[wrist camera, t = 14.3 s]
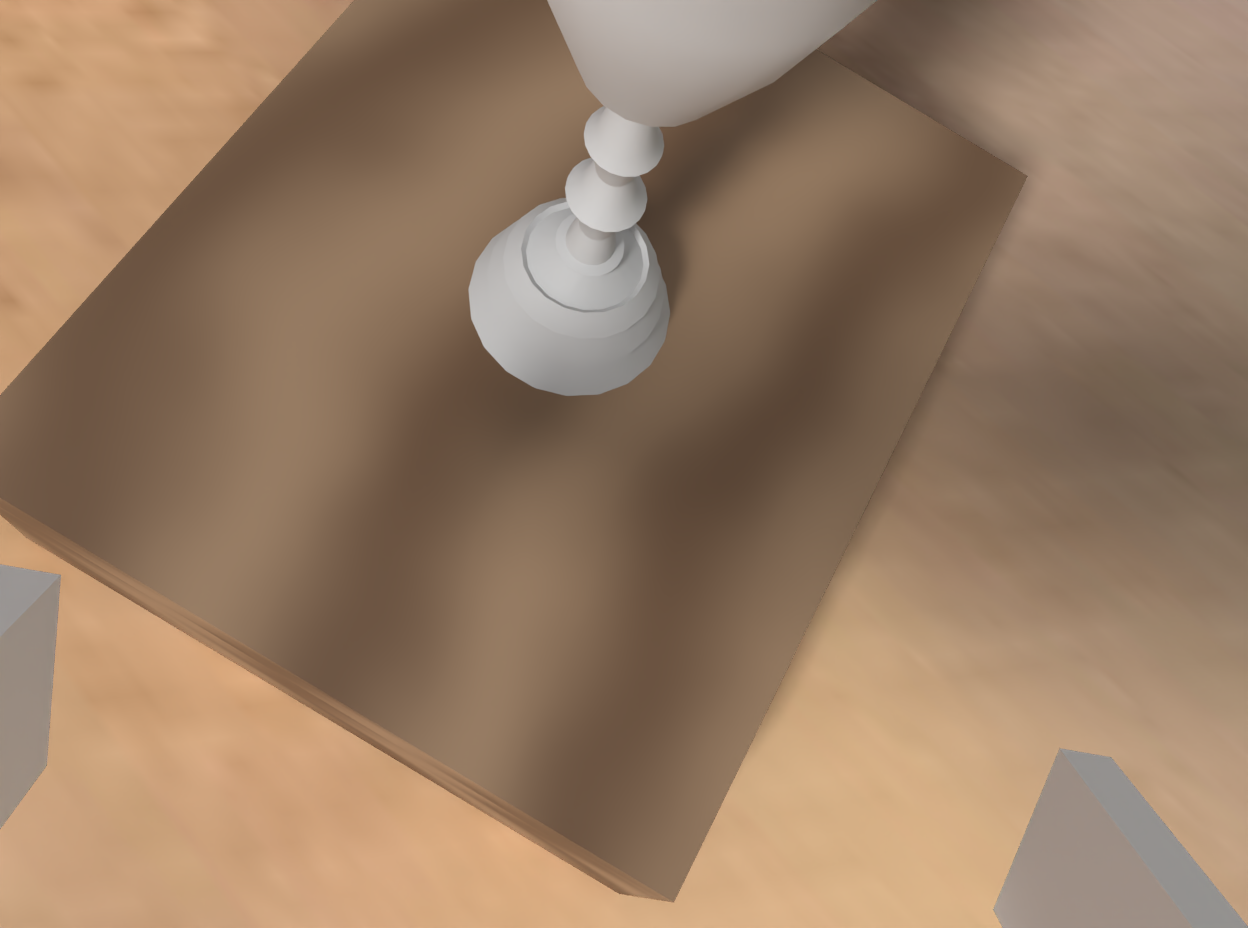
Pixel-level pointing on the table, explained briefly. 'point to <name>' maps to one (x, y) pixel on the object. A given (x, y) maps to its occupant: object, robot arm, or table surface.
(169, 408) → the walnut shelf
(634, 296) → the chalice
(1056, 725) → the table surface
